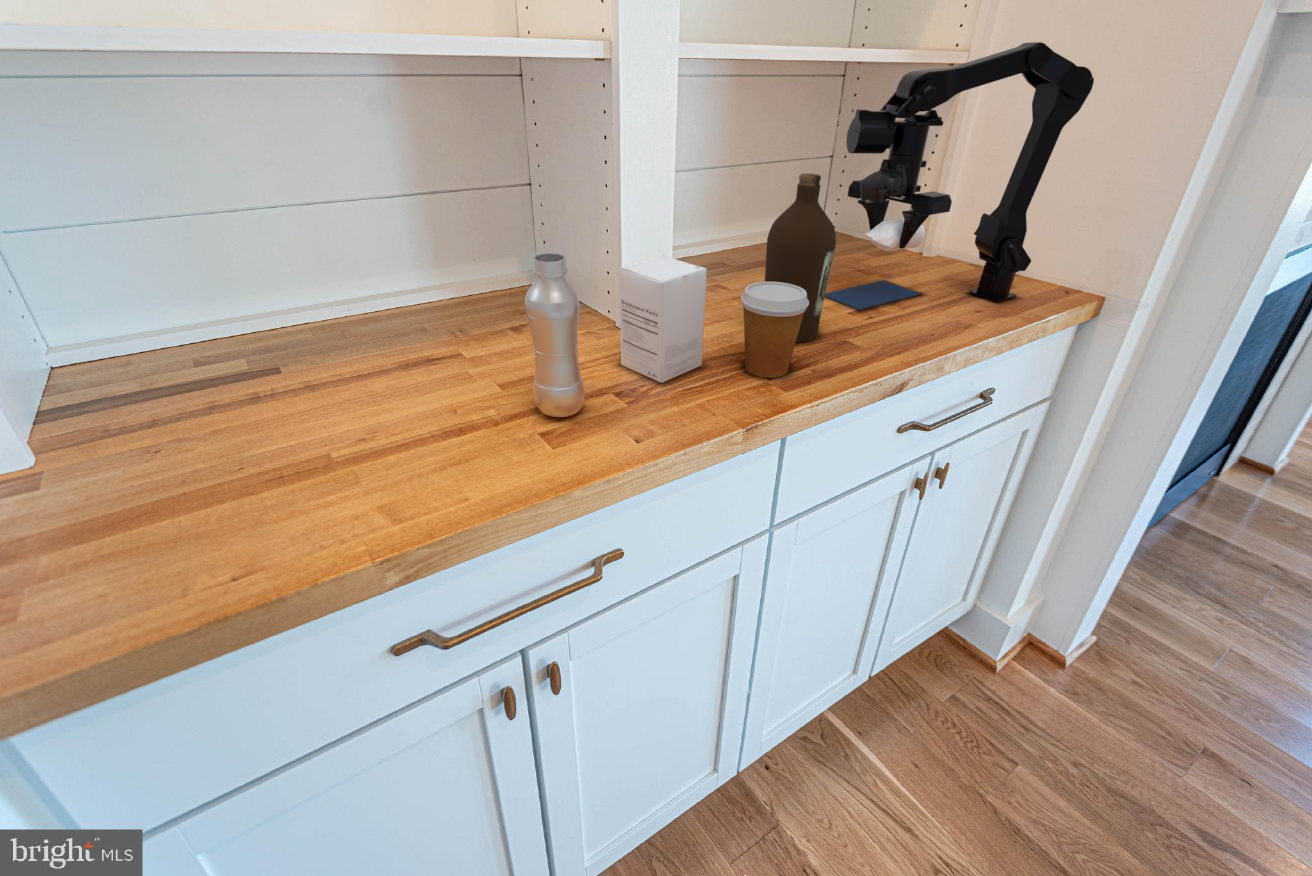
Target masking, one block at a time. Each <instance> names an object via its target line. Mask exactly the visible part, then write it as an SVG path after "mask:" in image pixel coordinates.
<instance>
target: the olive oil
mask: <svg viewBox="0 0 1312 876" xmlns="http://www.w3.org/2000/svg"><path fill="white" fill-rule="evenodd" d="M821 179H822V175H821V174H818V173H800V174H799V176H798V180H799V181H798V183H797V187H796V194H795V195H796V196H795V200H794V202H793V203H792V204H791V205H790V206H789V207H788V208H786V209H785V210H784V211H783V212H782V213H781V214H780V215H779V216H778V217H777V218H776V219H775V220H774V221H773V223H772V224H771V226H770V229H769V231H768V234H767V237H766V238H767V239H766V248H765V249H766V252H765V271H764V282H782V283H788V284H792V285H796V286H798V287H801V288H802V289H804V290H805V291H806V293H807V299H808V301H809V305H808V307H807V308H806V310H805V311H804V314H803V318H802V321H801V325H800V328H799V332H798V336H797V339H796V342H795V344H796V343H806V342H810V341H813V340H814V339H815V338H816V337H817V335H818V332H819V326H820V321H821V315H822V311H823V307H824V302H825V298H826V297H825V294H826V292H827V287H828V282H829V277H830V275H831V270H832V265H833V260H834V255H835V252H836V246H837V235H836V234H837V233H836V230H835V226H834V224H833V222H832V221H831V219H830V218H829V216H828V215H827V213H826V212H825V210H824V209H823V207H822V206H821V205H820V202H819V197H820V192H821V191H820V190H821V184H820V182H821V181H822V180H821Z"/></svg>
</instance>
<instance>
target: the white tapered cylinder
mask: <svg viewBox="0 0 1312 876" xmlns="http://www.w3.org/2000/svg"><path fill="white" fill-rule="evenodd" d="M903 225H904V218H895V219H884V221H883V222H881V223H880V224H878V225H877V226H875V228H873V229H872V230H870V229H869V230H868V231H867V232H864V236H865V237H866V238H868V239H869V241H870V243H872V244H873V245H874V246H875V247H876V248H877V249H880V250H882V251H883V252H893V251H900V250H905V249H914V248H917V247H918V246H920V245H921V244H922V243H923V241H924V239H925V236H926V231H925V227H924V225H923V224H922V225H921V226H920V227H919V228H918V230H917V231H916V232H915V234H914V235H913V237H912V238H911V239H910V241H909V242H908V244H907V245H906V246H905V248H902V249H901V248H899V246H900V238H901V234H902V229H903Z"/></svg>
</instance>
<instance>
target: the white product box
mask: <svg viewBox="0 0 1312 876" xmlns="http://www.w3.org/2000/svg"><path fill="white" fill-rule="evenodd" d="M618 269H619V270H618V271H619V272H618V273H619V274H618V275H619V323H620V324H619V325H620V327H619V330H620V334H619V335H620V365H621V366H623V367H625V368H628V369H630V370H631V371H633V372H636V373H639V374H640V375H643V376H644V377H647V378H650V379H652V380H654V381H656V382H658V383H660V384H663V383H665V382H668V381H670V380H672V379H675V378H676V377H679V376H681V375H683V374H685V373H688V372H691V371H693V370H695V369H697V368H700V367H702V366H703V351H704V350H703V349H704V334H705V333H704V331H705V328H704V327H705V313H706V312H705V311H706V294H707V293H706V292H707V272H708V271H707V270H708V269H707V268H706V267H703V266H699V265H696V264H692V263H689V262H686V261H681V260H679V259H676V258H674V257H670V256H666V255H661V256H657V257H654V258H650V259H646V260H643V261H639V262H635V263H632V264H628V265H627V264H626V265H624V266H620V267H618Z"/></svg>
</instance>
